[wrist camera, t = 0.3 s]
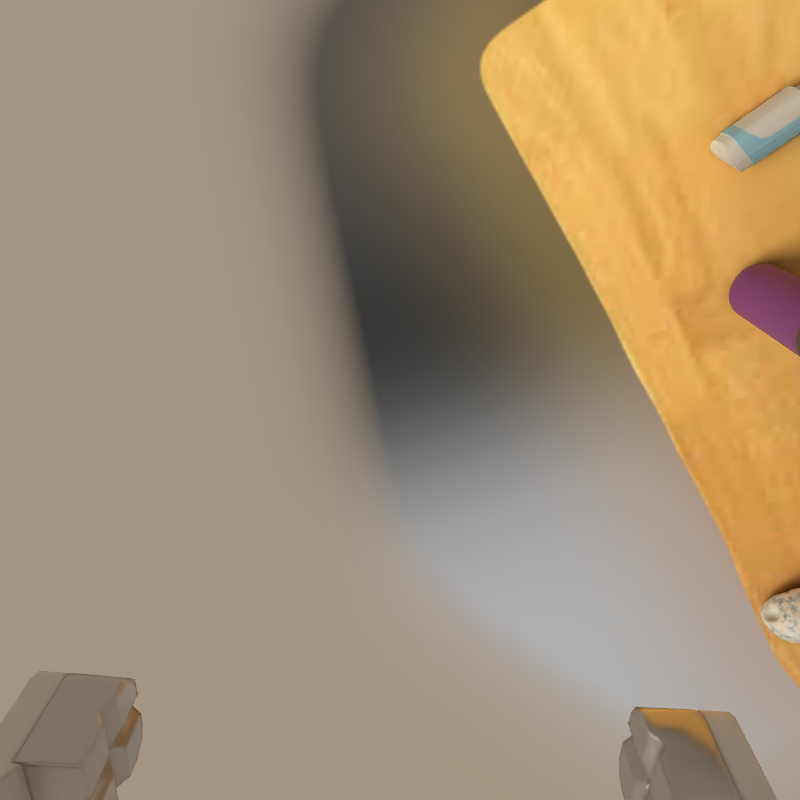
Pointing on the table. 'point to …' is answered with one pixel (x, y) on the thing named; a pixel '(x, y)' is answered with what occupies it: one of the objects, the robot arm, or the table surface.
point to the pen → (760, 130)
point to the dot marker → (769, 302)
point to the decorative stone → (783, 615)
